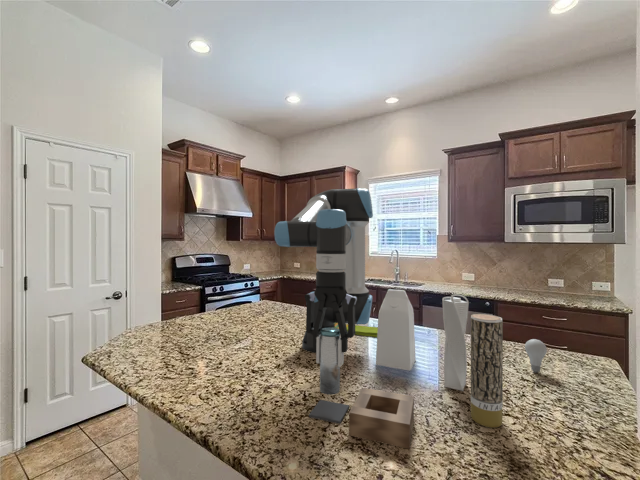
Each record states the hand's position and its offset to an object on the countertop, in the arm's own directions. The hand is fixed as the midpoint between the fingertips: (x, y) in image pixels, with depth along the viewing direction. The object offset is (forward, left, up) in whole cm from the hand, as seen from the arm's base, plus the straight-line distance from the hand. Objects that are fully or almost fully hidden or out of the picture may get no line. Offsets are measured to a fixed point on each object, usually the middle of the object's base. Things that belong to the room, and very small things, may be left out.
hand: (330, 362), depth 79 cm
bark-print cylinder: (+36, +10, -13) cm, 40 cm away
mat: (0, 0, -12) cm, 12 cm away
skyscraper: (+30, +28, -13) cm, 43 cm away
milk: (+11, +41, -13) cm, 45 cm away
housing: (+13, -1, -12) cm, 18 cm away
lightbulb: (+56, +49, -13) cm, 76 cm away
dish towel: (-13, +76, -13) cm, 79 cm away
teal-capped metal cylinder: (0, 0, -7) cm, 7 cm away
